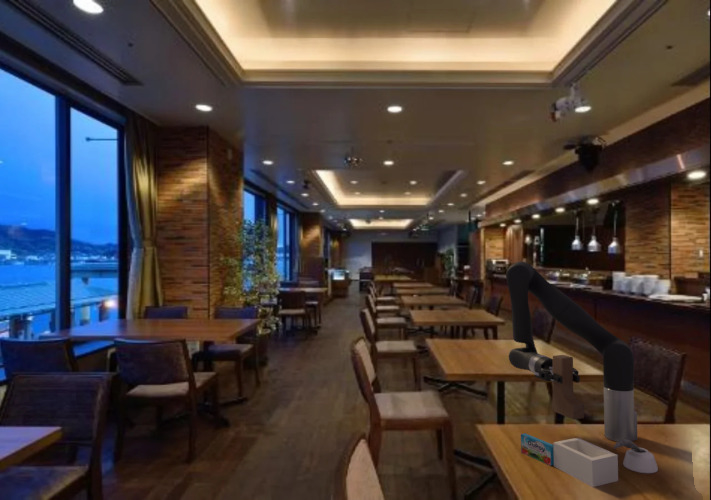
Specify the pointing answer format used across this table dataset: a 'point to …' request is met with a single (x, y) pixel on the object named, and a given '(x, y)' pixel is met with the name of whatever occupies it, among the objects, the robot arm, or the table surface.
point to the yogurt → (537, 449)
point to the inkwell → (637, 458)
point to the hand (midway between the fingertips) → (569, 379)
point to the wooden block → (565, 389)
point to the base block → (586, 461)
